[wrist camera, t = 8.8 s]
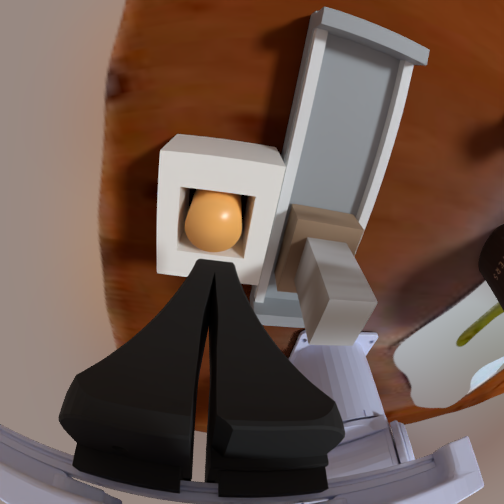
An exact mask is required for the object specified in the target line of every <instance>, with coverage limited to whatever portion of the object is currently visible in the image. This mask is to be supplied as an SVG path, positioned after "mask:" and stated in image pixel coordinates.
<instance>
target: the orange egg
mask: <svg viewBox="0 0 504 504" xmlns="http://www.w3.org/2000/svg"><path fill="white" fill-rule="evenodd" d="M185 232H186V235H187V237H188V239H189V240H190V242H191V243H192V244H193V245H194V246H196V247H197V248H199V249H201V250H203V251H207V252H221V251H225V250H227V249H229V248H231V247H232V246H233V245H235V244H236V242H237V241H238V240H239V238H240V235H241V232H242V209H241V194H234V193H227V192H219V191H211V190H203V189H196V192H195V194H194V197H193V200H192V203H191V206H190V208H189V211H188V214H187V217H186V220H185Z"/></svg>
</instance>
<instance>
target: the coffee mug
mask: <svg viewBox="0 0 504 504" xmlns="http://www.w3.org/2000/svg"><path fill="white" fill-rule="evenodd" d="M479 270H480V272H481V274H482V275H483V277H484V278H485V280H486V281H487V283H488V285H489V286H490V288H491V290H492V291H493V293H494V295H495V296H496V298H497V300H498V301H499V303H500V305H501V307H502V309H503V310H504V224H503V225H501V226H500V227H499V228H497V229H496V230H495V231H494V232H493V233H492V235H491V236H490V237H489V239H488V240H487V242H486V243H485V245H484V247H483V249H482V252H481V255H480V258H479Z"/></svg>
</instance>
